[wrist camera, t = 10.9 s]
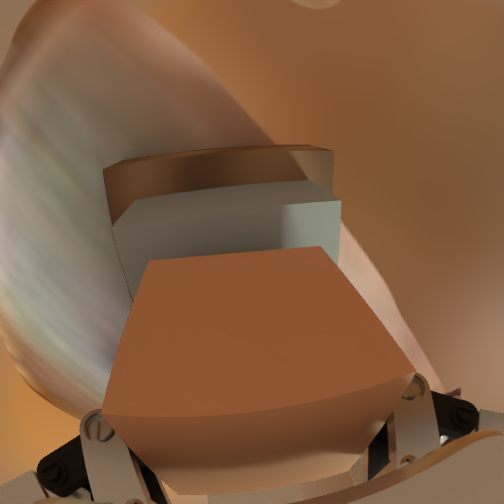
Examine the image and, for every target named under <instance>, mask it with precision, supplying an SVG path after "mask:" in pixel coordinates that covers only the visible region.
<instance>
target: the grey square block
mask: <svg viewBox="0 0 504 504" xmlns="http://www.w3.org/2000/svg"><path fill="white" fill-rule="evenodd" d="M340 219H341V200H340V199H338V198H337V197H335V196H334V195H332V194H331V193H329V192H328V191H326V190H325V189H323V188H321V187H320V186H318V185H317V184H315V183H313V182H312V181H310V180H296V181H282V182H270V183H258V184H248V185H238V186H229V187H220V188H212V189H204V190H196V191H189V192H181V193H174V194H168V195H161V196H155V197H149V198H143V199H137V200H135V201H134V202H133V203H132V204H131V205H130V207H129V208H128V209H127V210H126V211H125V212H124V213H123V214H122V216H121V217H120V218H119V219H118V220H117V221H116V222H115V224H114V225H113V226H112V227H111V229H112V233H113V237H114V241H115V245H116V248H117V252H118V255H119V259H120V262H121V265H122V269H123V272H124V275H125V278H126V282H127V285H128V288H129V291H130V294H131V297H132V299H133V302H134V299H135V296H136V294H137V291H138V288H139V285H140V283H141V280H142V277H143V275H144V272H145V270H146V267H147V265H148V262H149V260H161V259H172V258H184V257H195V256H207V255H218V254H230V253H242V252H253V251H265V250H276V249H288V248H299V247H311V246H321V247H322V248H323V249H324V251H325V252H326V253H327V254H328V255H329V257H330V258H331V259H332V260H333V261H334V263H335V264H336V265H337V263H338V251H339V237H340Z"/></svg>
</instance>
